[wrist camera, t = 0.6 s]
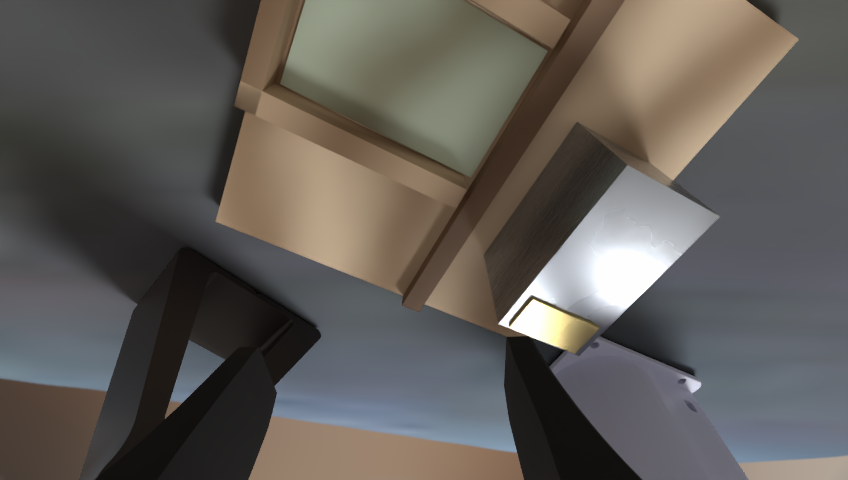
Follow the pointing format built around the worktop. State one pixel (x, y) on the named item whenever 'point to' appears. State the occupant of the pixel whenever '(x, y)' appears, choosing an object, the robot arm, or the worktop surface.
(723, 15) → the board
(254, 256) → the worktop surface
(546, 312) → the bar
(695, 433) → the robot arm
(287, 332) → the phone stand
